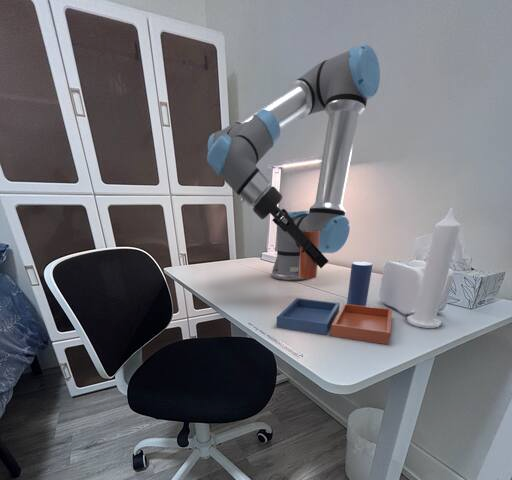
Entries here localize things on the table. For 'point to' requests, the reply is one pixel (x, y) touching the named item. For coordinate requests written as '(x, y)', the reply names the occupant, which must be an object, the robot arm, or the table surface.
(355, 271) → the blue pillar
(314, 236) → the terracotta pillar
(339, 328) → the terracotta tray
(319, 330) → the blue tray
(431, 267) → the candle
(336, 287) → the table surface
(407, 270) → the cable organizer
